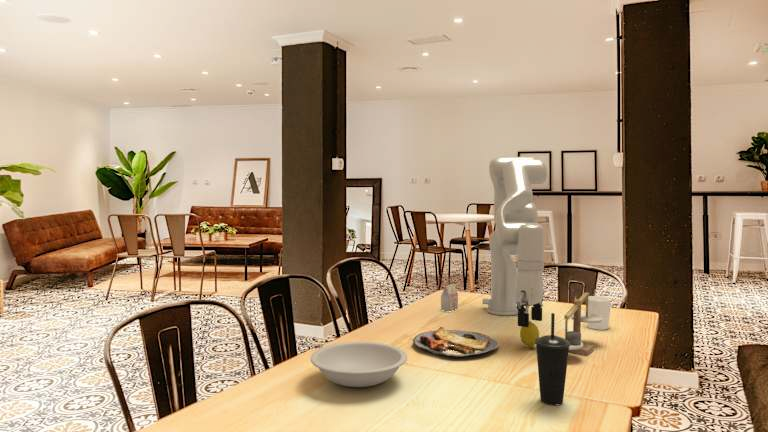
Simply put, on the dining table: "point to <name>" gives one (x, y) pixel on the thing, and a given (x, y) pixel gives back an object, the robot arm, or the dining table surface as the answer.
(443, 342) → the food plate
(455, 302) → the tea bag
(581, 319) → the balance
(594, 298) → the white cup
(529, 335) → the lemon
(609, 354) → the dining table surface
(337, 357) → the soup bowl
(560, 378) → the drinking cup
